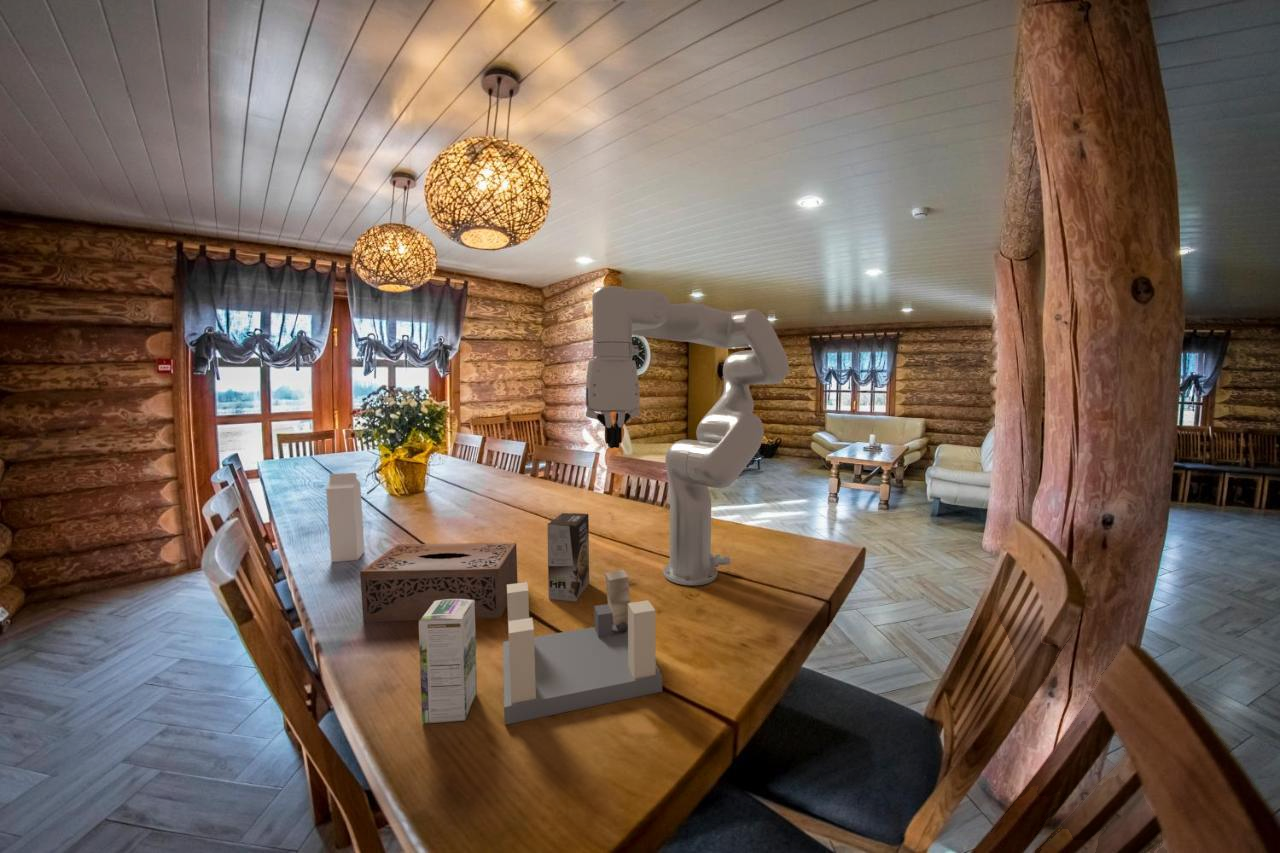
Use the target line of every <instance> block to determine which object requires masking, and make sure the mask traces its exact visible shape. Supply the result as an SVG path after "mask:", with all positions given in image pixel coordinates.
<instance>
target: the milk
mask: <svg viewBox="0 0 1280 853" xmlns="http://www.w3.org/2000/svg"><path fill="white" fill-rule="evenodd" d="M325 490H326V491H325V493H326V505H327V506H326V507H327V517H328V518H327V520H328V532H329V535H328V536H329V545H330V546H329V547H330V560H331V563H338V562H348V561H349V562H350V561H358V560H359V559H360V558H361V557H362V556H363V554H364V553H365V552H366V550H365V537H364V535H365V534H364V523H363V522H364V520H363V506H362V492H361V491H362V490H361V482H360V481H359V479H358V478H357V474H356V473H355V472H348V473H346V472H345V473H331V474H329V480H328V484H327V486H326V488H325Z"/></svg>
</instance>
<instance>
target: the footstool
mask: <svg viewBox="0 0 1280 853" xmlns="http://www.w3.org/2000/svg"><path fill="white" fill-rule="evenodd" d="M529 598H530V597H529V586H528V582H527V581H525V582H518V583H516V584H508V585H507V606H506V607H507V627H508V628H507V630H508V633H507V634H508V636H507V637H508V640H507V641H502V650H503V651H502V652H503V653H502V657H503V658H502V659H503V672H502V673H503V712H504V714H503V715H504V726H506V725H511V724H516V723H520V722H525V721H526V722H527V721H530V720H535V719H540V718H543V717H545V718H546V717H549V716H553V715H558V714H563V713H567V712H572V711H577V710H582V709H586V708H591V707H595V706H596V707H597V706H600V705H606V704H610V703H615V702H618V701H619V702H620V701H624V700H629V699H634V698H639V697H643V696H648V695H653V694H658V693H662V692H663V674H662V673H661V671H660V669H659V667H658V665H657V663H656V609H655V607H654V606H653V605H652V603H651V602H650V600H647V599H646V600H640V601H634V602H630V603H628V623H627V624H628V630H627V631H626V632H624V633H621V632H619V631H618V629H617V626H616V625H615V626H613V624H612V611H611V609H610V607H609V605H608V603H607V604H600V605H594V608H593V609H594V610H593V611H594V612H593V613H594V614H593V615H594V627H588V628H587V627H586V628H580V629H574V630H567V631H561V632H555V633H549V634H544V635H537V636H536V635H535V627H534V621H533V617H530V606H529V605H530V604H529V603H530V600H529Z"/></svg>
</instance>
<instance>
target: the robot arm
mask: <svg viewBox="0 0 1280 853" xmlns="http://www.w3.org/2000/svg"><path fill="white" fill-rule="evenodd" d="M591 299H592V301H591V302H592V304H591V307H592V309H591V310H592V353H593V354H592V358H593V359H592V360H589V361H588V363H587V371H586V381H585V382H586V384H585V407H586V411H585V416H586V418H590V419H594V420H597V421H599V423H600V424H601V425H602V426H603V427H604V442H605V444H606V445H607V447H608V448H609V449H615V448H616V449H620V444H622V441H623V440H622V439H623V438H622V437H623V436H622V428H623V427H624V425H625V424H626V423H627V422H628V421H629V420H630V419H633V418H637V417H639V416H640V415H641V412H640V404H641V403H640V401H641V399H640V398H641V397H640V396H641V395H640V383H639V375H638V369H637V364H636V360H633V358H634V356H636V355H639V354H640V349H639V347H635V346H634V345H633V340H632V339H633V338H632V336H637V337H642V338H643V337H644V338H651V339H661V340H669V341H676V342H686V343H687V342H688V343H694V344H699V345H702V346H703V345H704V346H707V347H711V348H718V349H723V350H727V349H728V350H729V349H732V350H733V349H743V348H751V349H750V350H749V349H747V350H738V351H736V352H732V353H731V354H730V355H728V356H727V357H726V359H725V361H724V362H723V366H722V375H723V376H722V377H723V393H722V395H721V396H720V397H719V399H718V400H717V401H716V402H715V404H714V405H713V406H712V408H710V409H709V411H708V412H707V413H706V414H705V415H704V416H703V417H702V419H701V420H700V422H699V424H697V428H696V433H695V435H696V439H697V440H695V439H680V440H678V441H676V442H674V443H672V444H671V445H670V446H669V448H668V449H667V451H666V454H665V462H664V463H665V469H666V470H665V471H666V476H667V480H668V488H669V489H668V490H669V562H668V563H666V564H665V565H664V566H663V569H662V575H663V577H664V578H665V579H666V580H667V581H669V582H672V583H675V584H676V585H681V586H703V585H708V584H710V583H712V582H714V581H715V580H716V579H717V578H718V569H717V568H718V567H719V566H726V565H731V558H730V556H729V555H722V556H721V555H720V554H719V553H715V554H712V498H711V494H710V489H709V488H713V489H714V488H715V489H724V488H728V487H729V486H731V485H732V484H733V483H734V482H735V481H736V480H737V479H738V478H739V476H740V475H741V474H742V473H743V471H744V470H745V468H746V467H747V466H748V464H749V463H750V462H751V460H752V459H753V458H754V457H755V455H756V454H757V452H758V451H759V449H760V448H761V445H762V443H763V439H764V434H765V430H764V424H763V421H762V420H761V418H760V417H759V415H757V414H755V413H753V412H754V408H755V406H754V405H755V404H754V398H753V396H752V393H751V390H750V386H751V385H754V386H755V385H756V386H757V385H760V386H761V385H766V386H767V385H769V386H770V385H777V384H781V382H783V381H784V380H785V379H786V378H787V376H788V375H789V371H790V370H789V367H790V364H789V359H788V356H787V354H786V351H785V349H784V347H783V345H782V343H781V341H780V339H779V337H778V335H777V333H776V331H775V329H774V328H773V326H772V324H771V323H770V321H769V319H768V318H767V317H766V316H765V314H763V312H761V311H760V310H758V309H754V308H750V309H746V310H745V309H742V310H737V311H726V310H721V309H717V308H714V307H711V306H708V305H704V304H702V303H696V302H684V303H674V304H673V303H671V302H670V300H669V298H668V297H667V296H666V295H665V294H664V293H663V292H661V291H659V290H656V289H628V288H625V287H623V286H615V285H606V286H600V287H598V288H596V289H594V291H593V293H592V298H591ZM612 412H613V413H615V416H614V423H612V416H611V413H612Z"/></svg>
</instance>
